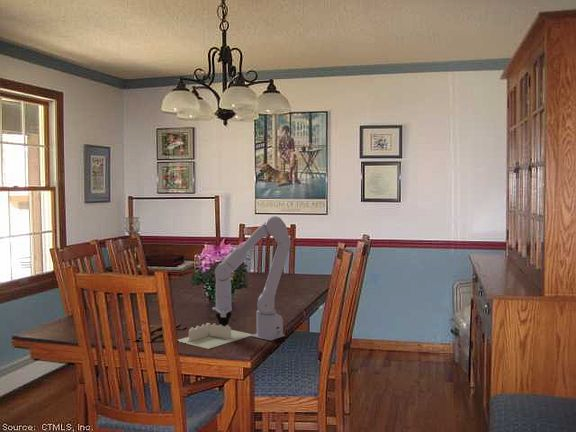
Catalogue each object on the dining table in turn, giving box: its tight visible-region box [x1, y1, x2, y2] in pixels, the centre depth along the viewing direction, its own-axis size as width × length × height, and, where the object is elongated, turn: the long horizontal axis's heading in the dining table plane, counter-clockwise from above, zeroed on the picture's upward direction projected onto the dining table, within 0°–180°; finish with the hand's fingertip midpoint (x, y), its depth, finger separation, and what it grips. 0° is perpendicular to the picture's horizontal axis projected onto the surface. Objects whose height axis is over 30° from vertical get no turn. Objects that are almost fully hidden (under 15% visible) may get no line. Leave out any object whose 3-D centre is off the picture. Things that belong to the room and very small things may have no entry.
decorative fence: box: [136, 323, 188, 343], centre depth 218 cm, size 23×2×15 cm
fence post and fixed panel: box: [188, 322, 212, 341], centre depth 210 cm, size 2×10×5 cm, turn 141°
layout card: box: [177, 329, 255, 350], centre depth 211 cm, size 17×23×1 cm
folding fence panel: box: [211, 323, 232, 338], centre depth 211 cm, size 8×1×5 cm, turn 67°
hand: (223, 332), depth 212 cm, fingers closed, pressing on folding fence panel
